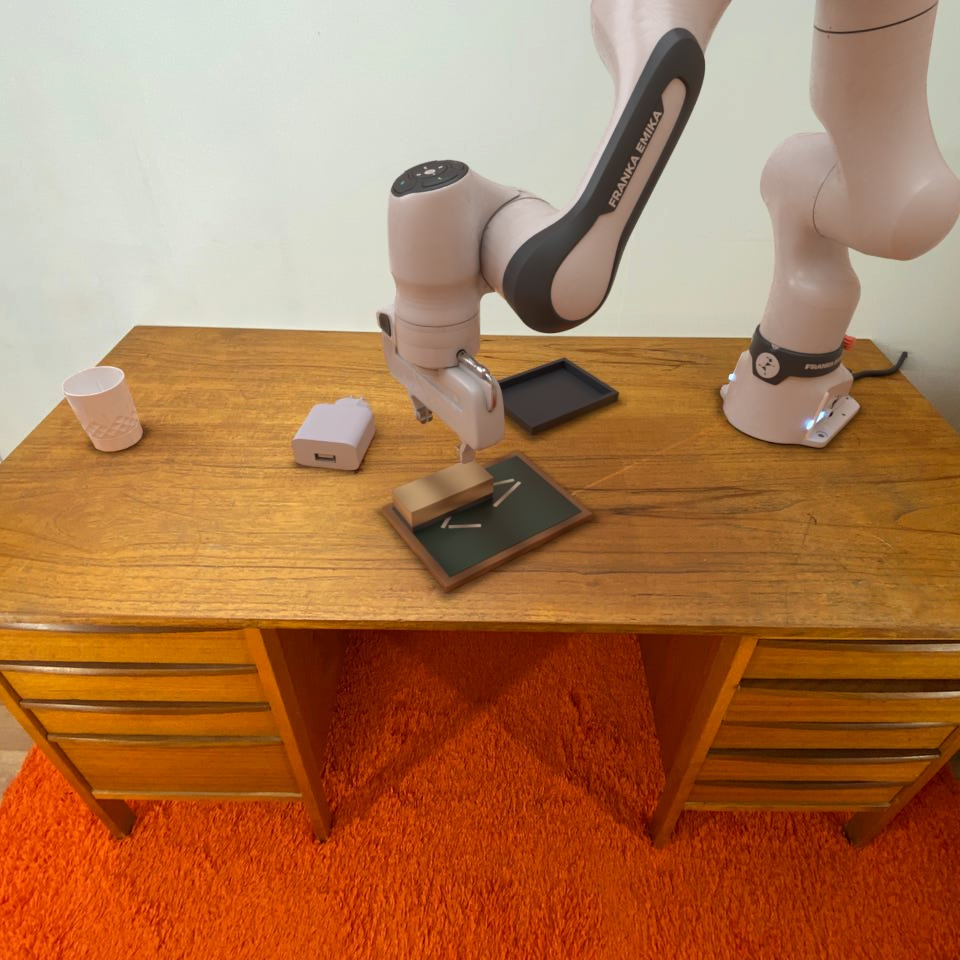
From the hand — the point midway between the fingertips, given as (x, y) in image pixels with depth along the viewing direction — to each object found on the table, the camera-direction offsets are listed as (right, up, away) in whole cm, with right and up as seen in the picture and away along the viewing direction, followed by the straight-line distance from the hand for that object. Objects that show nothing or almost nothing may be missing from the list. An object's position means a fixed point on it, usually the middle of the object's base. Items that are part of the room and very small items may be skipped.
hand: (444, 438), depth 76 cm
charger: (-16, +1, +20) cm, 25 cm away
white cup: (-49, +1, +19) cm, 53 cm away
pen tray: (+15, +8, +28) cm, 33 cm away
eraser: (0, -8, +6) cm, 10 cm away
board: (+5, -10, +7) cm, 13 cm away
